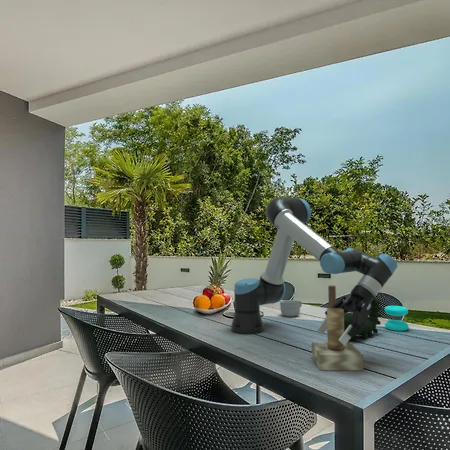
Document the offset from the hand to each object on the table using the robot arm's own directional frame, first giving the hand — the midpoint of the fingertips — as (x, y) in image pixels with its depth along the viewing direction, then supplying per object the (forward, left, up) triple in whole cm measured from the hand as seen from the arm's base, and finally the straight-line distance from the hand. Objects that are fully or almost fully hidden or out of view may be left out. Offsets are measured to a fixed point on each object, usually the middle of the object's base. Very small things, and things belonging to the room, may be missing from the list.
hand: (329, 337), depth 129 cm
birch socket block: (+2, +1, -9) cm, 9 cm away
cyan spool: (+41, +46, -9) cm, 63 cm away
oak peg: (+2, +1, -9) cm, 9 cm away
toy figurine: (+20, +32, -9) cm, 39 cm away
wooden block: (+17, +58, -9) cm, 61 cm away
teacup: (-3, +75, -9) cm, 76 cm away
